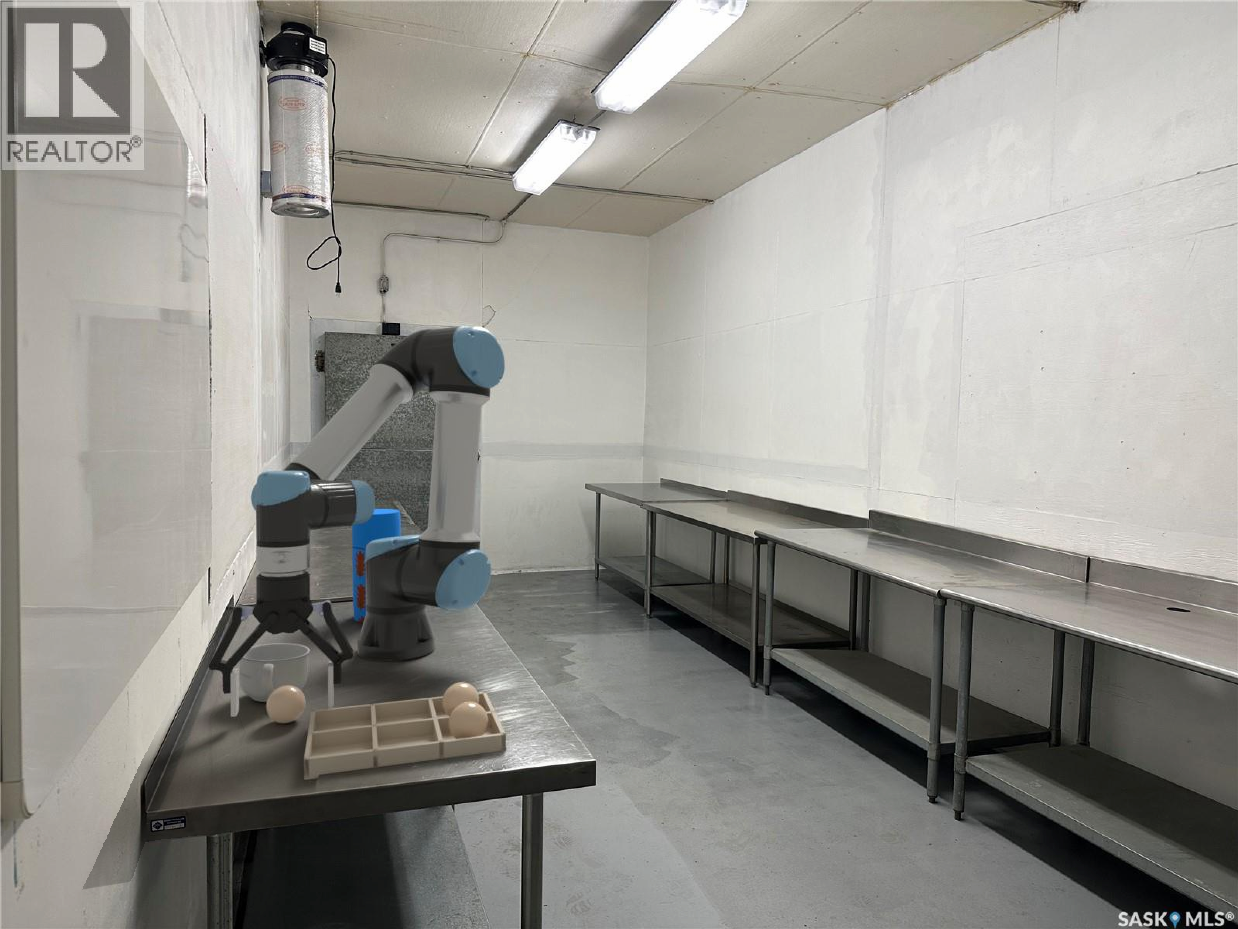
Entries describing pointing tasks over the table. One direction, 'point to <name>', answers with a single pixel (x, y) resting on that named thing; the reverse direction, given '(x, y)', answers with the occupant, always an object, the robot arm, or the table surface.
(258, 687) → the teacup
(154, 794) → the table surface
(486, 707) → the carton
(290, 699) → the egg
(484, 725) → the egg front left
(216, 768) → the table surface
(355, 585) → the thermos
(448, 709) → the egg back left
